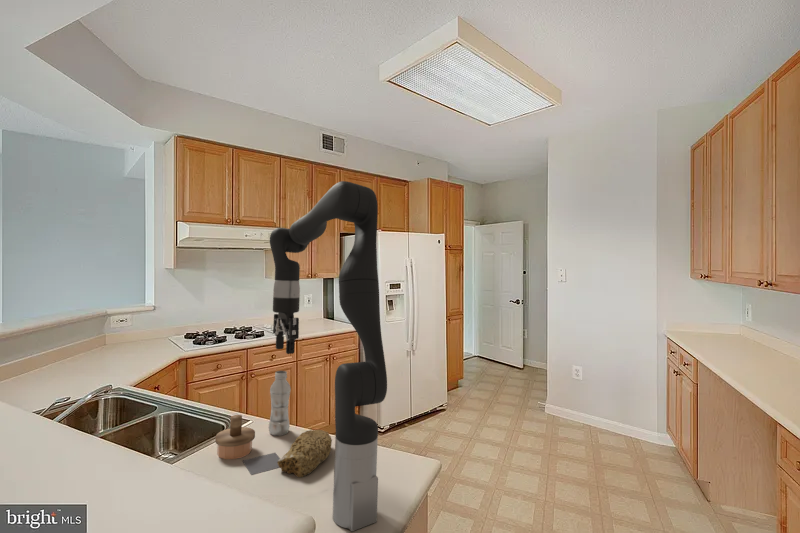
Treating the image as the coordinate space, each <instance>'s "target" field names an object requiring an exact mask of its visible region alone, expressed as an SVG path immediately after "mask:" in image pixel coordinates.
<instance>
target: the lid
mask: <svg viewBox="0 0 800 533" xmlns="http://www.w3.org/2000/svg"><path fill="white" fill-rule="evenodd" d="M242 424H243V415H242V414H234V415H232V416H230V426H229V427H230V428H226V429H223V430H221V431H219V432H217V434H216V435H215V439H214V440H215V444H216V445H217V446H218V445H220V446H226V447H232V446H239V445H243V444H246V443H249V442H251V441H252V442H253V440H254V439H255V438H256V431H255V430H254V429H253V428H250V427H245V426H244V427H243V425H242Z"/></svg>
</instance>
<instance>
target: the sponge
mask: <svg viewBox="0 0 800 533" xmlns="http://www.w3.org/2000/svg"><path fill="white" fill-rule="evenodd" d="M332 441H333V439H332V437H331V436H330V433H328V432H327V431H325V430H323V429H313V430H312V429H311V430H310V429H309V430H306V431H305V432H302V433H301V434H299V436H297V437H296V439H295V440H294V442H293V443H291V445H290V448H289V450H288V451H287V452H286V453H284V455H283V456H282V458H280V459H279V460H278V462H277V463H278V466H279V468H278V469H281V472H285V473H286V474H289V475H290V474H294V475H295V476H296V477H297V478H304V476H307V475H308V474H311V473H312V472H313V471H314V470H315V469H316V468H317V467H318V466H319V465H320V464H322V463H323V462H324V461H325V460H327V459H328V457H329V455H330V453H331V451H332V448H331V447H332V443H333V442H332Z"/></svg>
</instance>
